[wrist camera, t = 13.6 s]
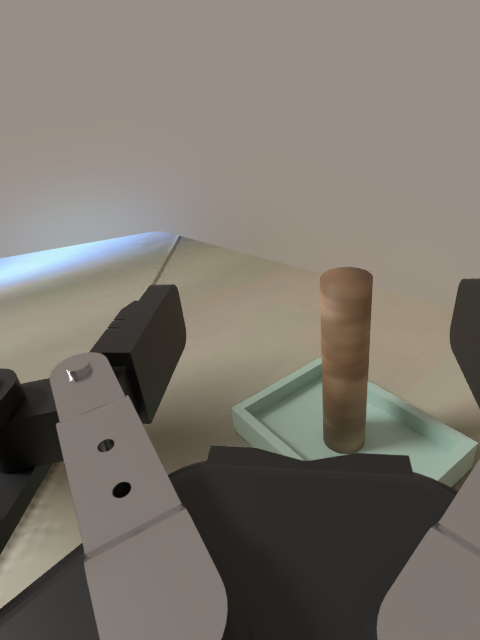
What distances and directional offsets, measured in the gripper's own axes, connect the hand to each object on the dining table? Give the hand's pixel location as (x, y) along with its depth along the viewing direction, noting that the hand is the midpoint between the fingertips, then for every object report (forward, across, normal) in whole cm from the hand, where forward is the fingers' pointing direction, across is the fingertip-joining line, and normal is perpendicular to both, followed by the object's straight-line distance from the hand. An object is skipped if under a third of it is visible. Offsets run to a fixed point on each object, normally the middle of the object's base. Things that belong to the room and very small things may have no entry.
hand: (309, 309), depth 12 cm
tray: (+13, -2, +21) cm, 25 cm away
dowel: (+13, -2, +20) cm, 24 cm away
